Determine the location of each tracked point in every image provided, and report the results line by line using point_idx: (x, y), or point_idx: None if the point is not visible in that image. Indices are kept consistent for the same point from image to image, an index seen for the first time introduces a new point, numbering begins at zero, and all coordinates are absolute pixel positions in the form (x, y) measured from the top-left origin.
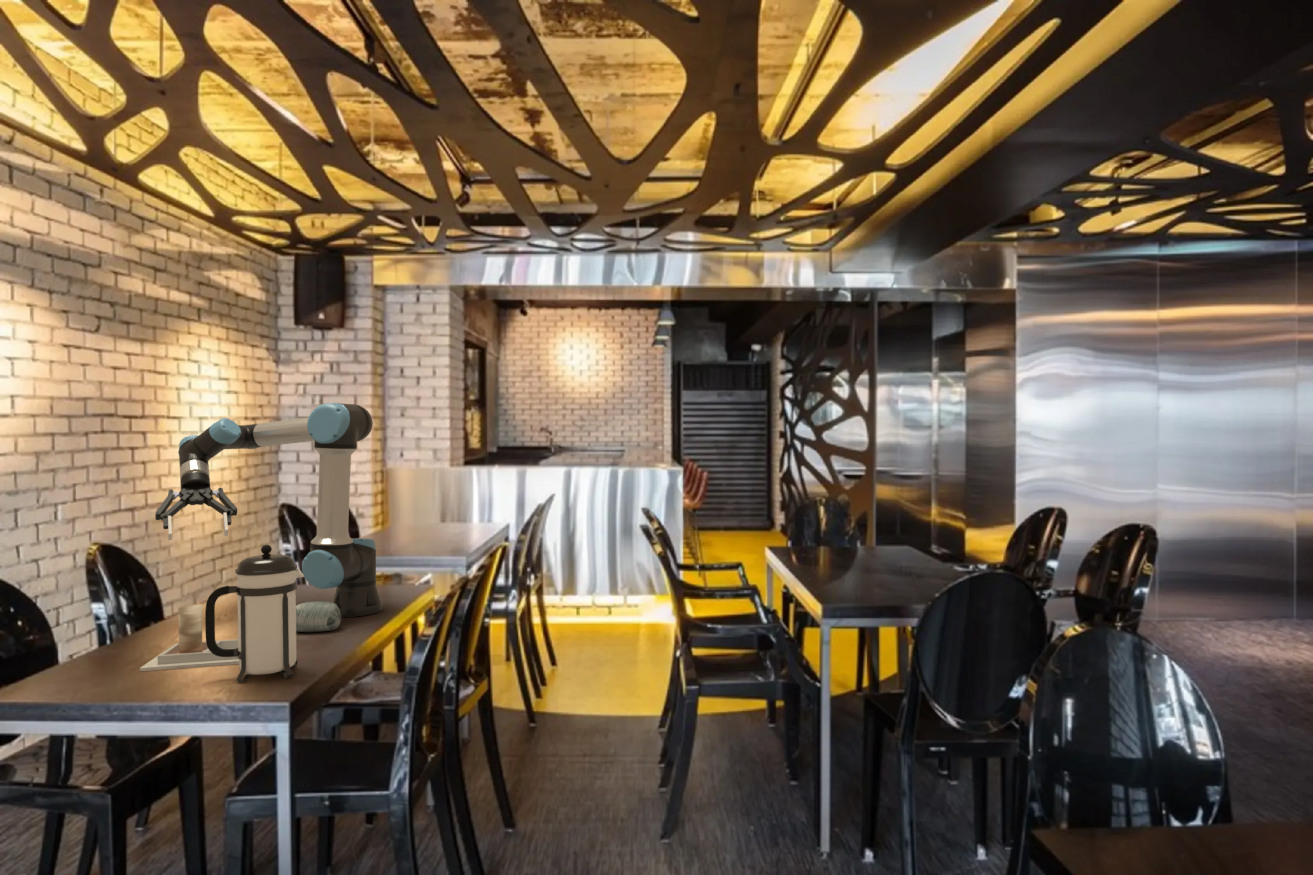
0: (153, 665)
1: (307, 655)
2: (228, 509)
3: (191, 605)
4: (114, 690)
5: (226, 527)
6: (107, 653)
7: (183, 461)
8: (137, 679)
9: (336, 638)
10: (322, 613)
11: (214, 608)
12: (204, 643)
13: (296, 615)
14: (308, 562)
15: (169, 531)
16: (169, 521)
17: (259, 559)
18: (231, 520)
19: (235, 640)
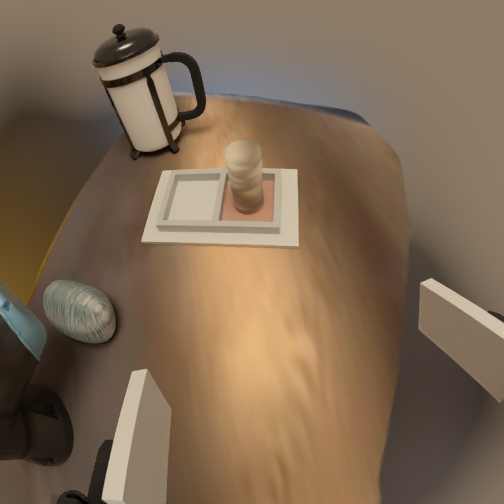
0: (284, 174)
1: (116, 190)
2: (72, 501)
3: (242, 158)
4: (294, 126)
5: (135, 383)
6: (389, 273)
7: None
8: (286, 148)
9: (75, 258)
10: (66, 280)
11: (190, 73)
12: (235, 221)
13: (98, 292)
14: (15, 305)
15: (438, 286)
16: (490, 319)
17: (131, 29)
18: (98, 450)
19: (190, 220)
